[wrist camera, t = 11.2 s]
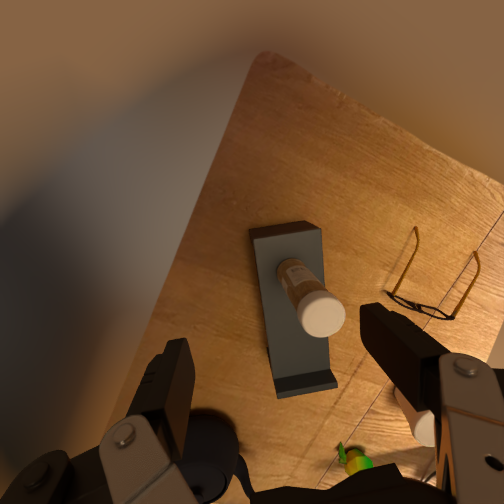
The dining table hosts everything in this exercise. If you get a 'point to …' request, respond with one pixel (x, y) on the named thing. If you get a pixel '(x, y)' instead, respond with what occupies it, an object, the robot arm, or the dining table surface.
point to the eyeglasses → (428, 306)
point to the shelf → (291, 309)
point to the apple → (354, 460)
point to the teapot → (212, 459)
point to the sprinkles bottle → (311, 299)
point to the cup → (417, 421)
